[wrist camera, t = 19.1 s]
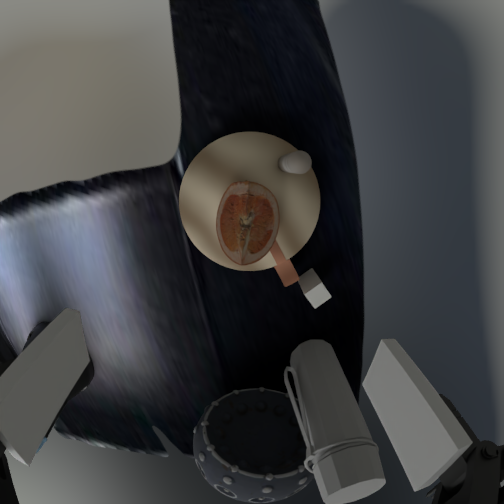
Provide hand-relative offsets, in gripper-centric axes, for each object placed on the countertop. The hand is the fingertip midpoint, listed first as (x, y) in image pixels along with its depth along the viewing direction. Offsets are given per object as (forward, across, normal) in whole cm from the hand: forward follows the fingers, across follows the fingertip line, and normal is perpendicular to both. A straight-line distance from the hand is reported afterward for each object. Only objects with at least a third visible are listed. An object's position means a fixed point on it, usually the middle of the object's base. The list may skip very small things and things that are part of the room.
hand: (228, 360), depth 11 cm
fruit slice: (+22, +1, +2) cm, 22 cm away
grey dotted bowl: (+26, +7, -30) cm, 40 cm away
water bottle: (+26, +13, -18) cm, 34 cm away
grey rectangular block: (+25, +11, -6) cm, 28 cm away
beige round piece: (+24, +2, +3) cm, 25 cm away
